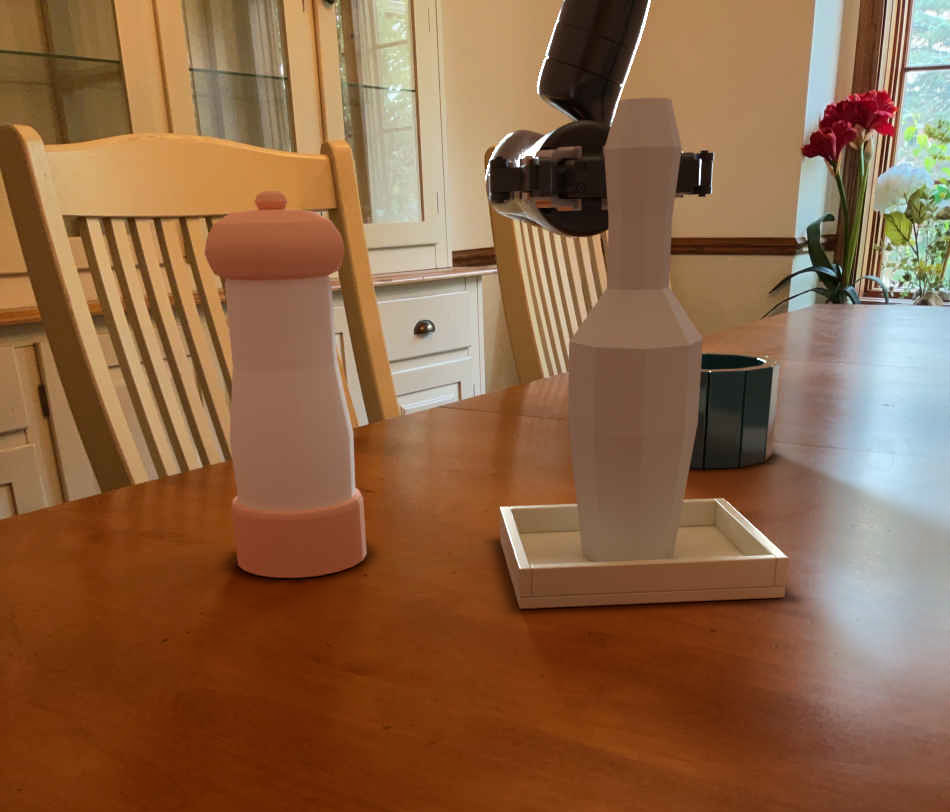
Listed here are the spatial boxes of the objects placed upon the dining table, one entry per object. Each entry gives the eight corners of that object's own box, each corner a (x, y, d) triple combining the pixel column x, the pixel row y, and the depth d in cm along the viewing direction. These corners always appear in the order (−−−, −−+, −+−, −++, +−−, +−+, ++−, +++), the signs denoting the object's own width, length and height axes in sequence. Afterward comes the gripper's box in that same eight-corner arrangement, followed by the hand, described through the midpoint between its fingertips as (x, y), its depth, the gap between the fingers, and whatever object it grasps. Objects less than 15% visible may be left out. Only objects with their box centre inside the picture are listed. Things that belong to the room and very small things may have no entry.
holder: (747, 437, 86) (754, 350, 83) (788, 465, 77) (797, 368, 74) (626, 442, 85) (629, 354, 83) (653, 471, 76) (658, 373, 73)
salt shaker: (214, 556, 60) (169, 193, 52) (322, 530, 64) (295, 191, 57) (279, 588, 54) (239, 190, 47) (392, 557, 59) (372, 188, 51)
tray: (721, 532, 62) (723, 497, 61) (784, 597, 52) (788, 557, 51) (499, 541, 61) (499, 506, 60) (519, 609, 51) (519, 568, 50)
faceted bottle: (545, 556, 56) (547, 102, 48) (617, 531, 61) (631, 108, 52) (640, 583, 52) (660, 90, 44) (711, 553, 56) (742, 97, 48)
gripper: (476, 127, 75) (495, 106, 60) (672, 121, 75) (740, 100, 60) (479, 238, 78) (498, 246, 63) (668, 232, 78) (732, 238, 63)
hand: (617, 174), depth 61 cm, fingers open, 8 cm apart
